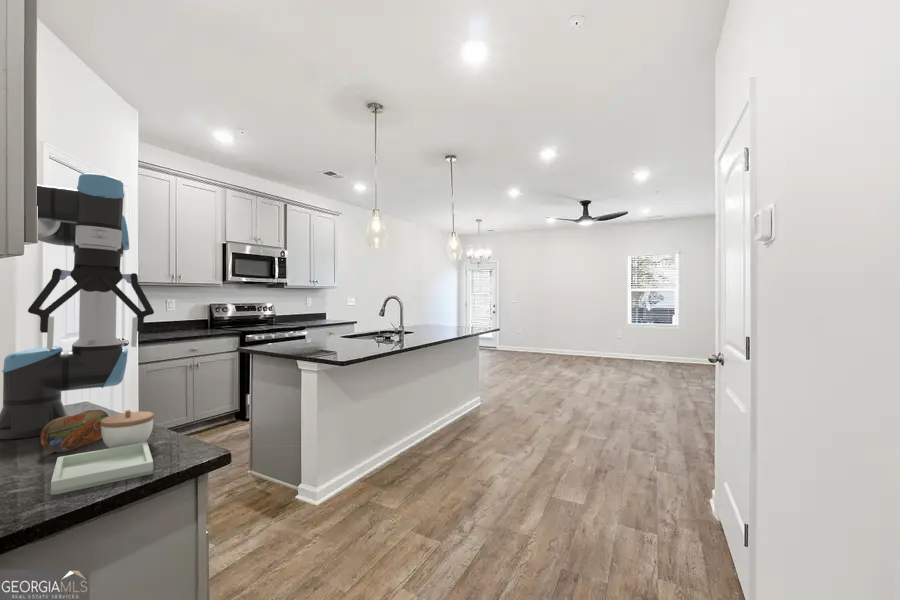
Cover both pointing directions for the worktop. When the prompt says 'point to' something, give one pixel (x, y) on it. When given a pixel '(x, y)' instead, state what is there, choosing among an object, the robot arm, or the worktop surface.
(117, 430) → the lidded jar
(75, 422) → the tin
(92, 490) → the worktop surface
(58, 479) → the tray
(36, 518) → the worktop surface
